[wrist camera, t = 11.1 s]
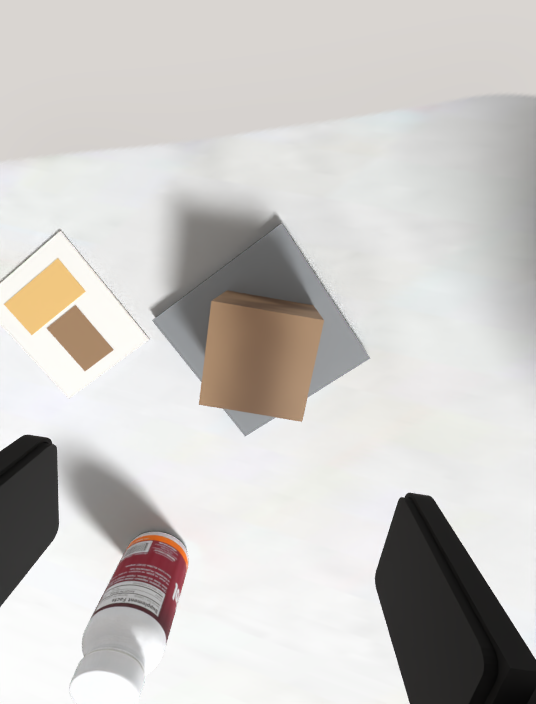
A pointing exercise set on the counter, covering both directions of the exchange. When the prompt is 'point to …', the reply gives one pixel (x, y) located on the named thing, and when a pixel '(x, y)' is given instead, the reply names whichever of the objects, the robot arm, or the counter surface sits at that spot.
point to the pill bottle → (131, 621)
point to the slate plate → (273, 282)
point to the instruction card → (66, 316)
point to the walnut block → (260, 355)
